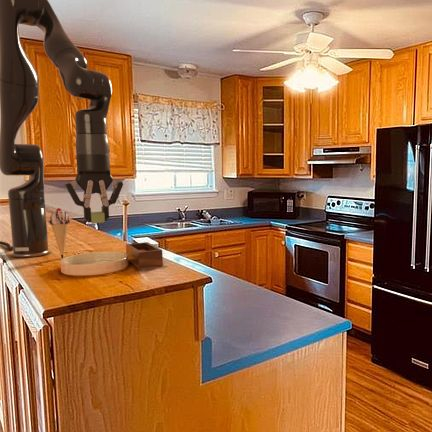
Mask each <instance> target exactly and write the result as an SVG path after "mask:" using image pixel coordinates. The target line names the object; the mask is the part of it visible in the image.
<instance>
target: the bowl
mask: <svg viewBox="0 0 432 432" xmlns="http://www.w3.org/2000/svg"><path fill="white" fill-rule="evenodd" d="M129 263H130V262H129V261H128V254H126V252H122V251H112V250H111V251H109V250H108V251H106V250H105V251H90V252H83V253H77V254H72V255H69V256H64V257H63V258H61V259H60V260H59V266H60V267H59V268H60V272H61V273H62V274H64V275H69V276H95V275H103V274H109V273H113V272H118V271H121V270H124V269H126V268H128V266H129V265H130V264H129Z"/></svg>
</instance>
